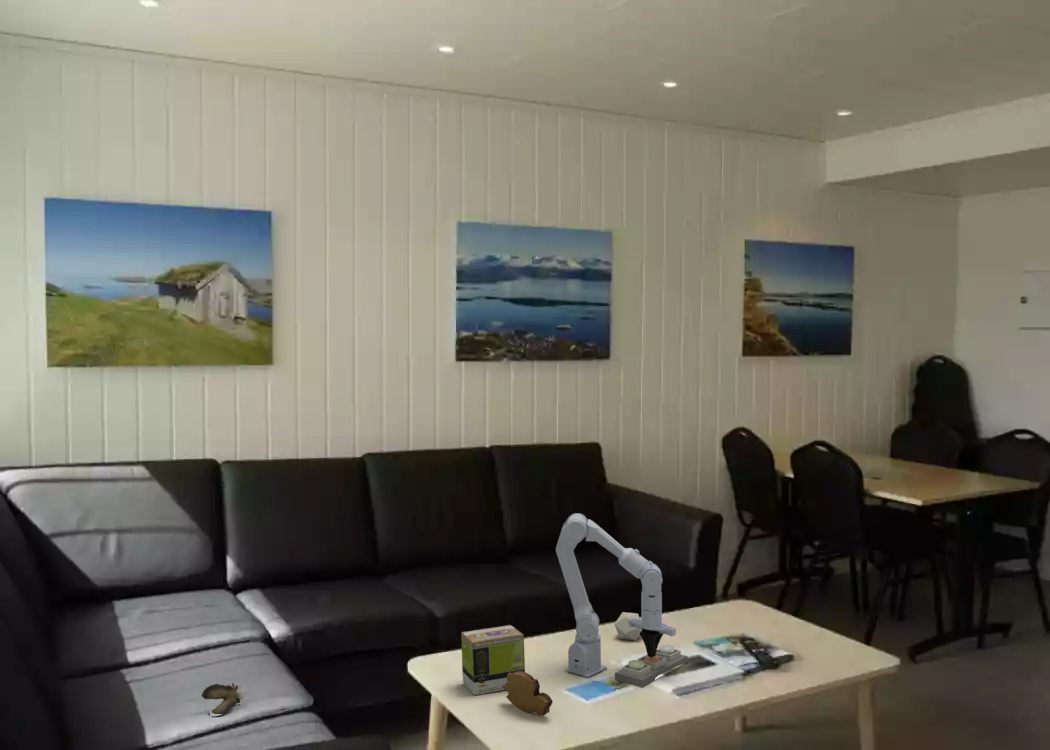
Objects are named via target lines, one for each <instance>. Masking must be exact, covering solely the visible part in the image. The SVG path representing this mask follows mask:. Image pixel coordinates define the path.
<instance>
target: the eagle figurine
mask: <svg viewBox="0 0 1050 750" xmlns="http://www.w3.org/2000/svg"><path fill="white" fill-rule="evenodd" d="M247 693H248V690H247V688H246V687H245V686H243V685H239V686H238V685H237V684H235V683H234V682H231V685H230V684H228V685H227V684H226V685H225V684H218V683H214V684H211V685H210V686H207V687H205V689H204V690H203V691H202V694H201V697H202V698H203V700H222V701H221V703H220V704H218V705H217V706H216V707H215V708H214V709H212V710H211V711H212V713H214V714H222V715H221V716H223V715H224V714H226V713H227V712H228V711H229V710H231V709H232V708H235V707H236V705H237V704H238V703H240V702H241V700H244V698H246V696H247Z"/></svg>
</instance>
